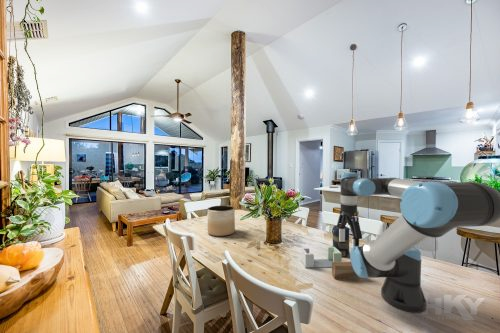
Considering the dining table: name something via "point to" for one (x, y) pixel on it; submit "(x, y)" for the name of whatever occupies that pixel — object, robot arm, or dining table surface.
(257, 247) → the dining table surface
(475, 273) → the dining table surface
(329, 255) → the end cap
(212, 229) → the planter
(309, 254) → the endcap base
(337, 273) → the block
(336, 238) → the canister
